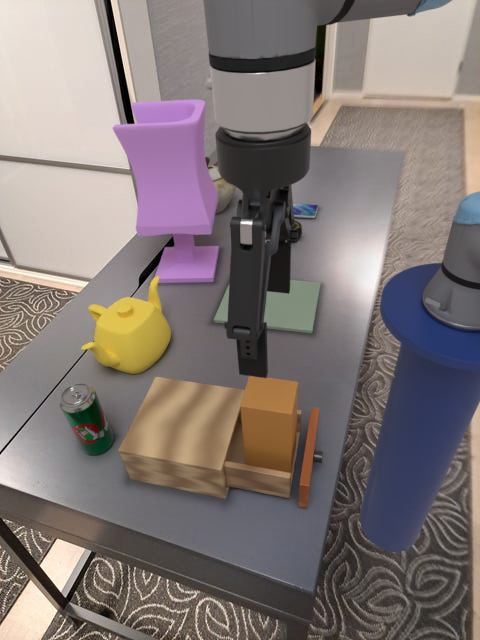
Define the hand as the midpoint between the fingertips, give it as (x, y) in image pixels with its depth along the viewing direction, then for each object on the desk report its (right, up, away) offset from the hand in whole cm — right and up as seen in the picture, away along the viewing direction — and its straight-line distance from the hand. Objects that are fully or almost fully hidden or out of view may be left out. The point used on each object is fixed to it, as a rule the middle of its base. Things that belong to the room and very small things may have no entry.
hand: (267, 328), depth 48 cm
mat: (+3, +4, +46) cm, 46 cm away
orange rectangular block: (+2, -19, +16) cm, 25 cm away
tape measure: (+9, +22, +66) cm, 70 cm away
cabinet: (-10, -19, +20) cm, 29 cm away
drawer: (+2, -20, +17) cm, 26 cm away
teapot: (-24, -5, +38) cm, 45 cm away
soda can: (-25, -19, +22) cm, 38 cm away
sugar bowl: (-11, +34, +81) cm, 89 cm away
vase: (-15, +14, +59) cm, 62 cm away
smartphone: (+11, +31, +76) cm, 83 cm away
